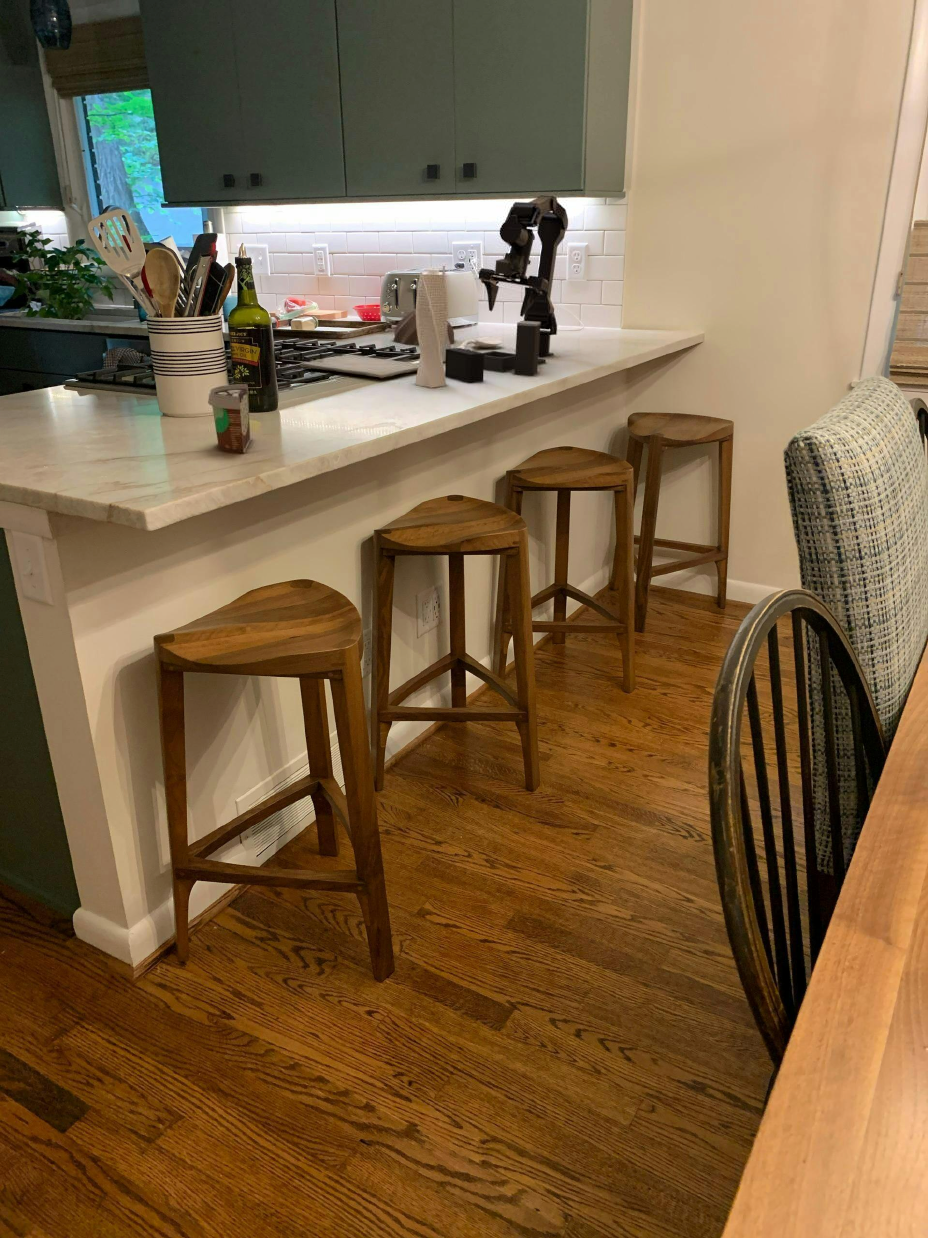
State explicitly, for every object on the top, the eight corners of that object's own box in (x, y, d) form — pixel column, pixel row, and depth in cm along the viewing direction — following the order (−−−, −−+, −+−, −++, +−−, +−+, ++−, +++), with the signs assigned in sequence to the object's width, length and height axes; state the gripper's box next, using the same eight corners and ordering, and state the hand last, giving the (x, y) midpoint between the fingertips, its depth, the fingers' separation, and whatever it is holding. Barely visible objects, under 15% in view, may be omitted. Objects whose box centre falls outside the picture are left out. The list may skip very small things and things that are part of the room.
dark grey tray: (498, 356, 271) (499, 343, 270) (545, 362, 263) (546, 350, 261) (453, 364, 255) (454, 351, 253) (502, 372, 246) (503, 358, 245)
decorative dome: (380, 340, 294) (379, 306, 289) (422, 334, 307) (423, 303, 303) (425, 347, 282) (425, 313, 278) (467, 341, 296) (468, 308, 292)
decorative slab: (297, 369, 240) (297, 361, 240) (348, 359, 257) (348, 352, 256) (384, 382, 228) (384, 373, 227) (431, 370, 245) (431, 363, 244)
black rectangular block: (487, 381, 234) (488, 352, 231) (470, 383, 230) (471, 354, 228) (461, 374, 241) (462, 346, 238) (445, 376, 238) (445, 348, 235)
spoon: (432, 356, 267) (432, 343, 266) (482, 343, 293) (482, 332, 292) (460, 359, 263) (460, 346, 262) (508, 346, 290) (508, 334, 288)
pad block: (519, 371, 248) (522, 320, 243) (537, 372, 247) (540, 321, 242) (514, 374, 244) (517, 322, 239) (532, 375, 243) (536, 323, 237)
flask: (456, 358, 264) (457, 322, 260) (453, 362, 258) (454, 325, 254) (431, 357, 265) (431, 321, 261) (427, 361, 258) (428, 324, 254)
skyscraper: (453, 385, 227) (456, 262, 215) (432, 389, 222) (434, 263, 210) (430, 380, 231) (432, 260, 220) (409, 384, 226) (409, 261, 215)
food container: (217, 438, 172) (213, 383, 168) (251, 438, 172) (247, 383, 168) (206, 455, 160) (201, 396, 156) (242, 455, 161) (238, 396, 157)
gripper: (475, 239, 241) (461, 301, 244) (540, 248, 233) (525, 312, 237) (492, 251, 251) (479, 310, 254) (555, 260, 243) (541, 321, 247)
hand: (505, 313), depth 247 cm, fingers open, 9 cm apart
